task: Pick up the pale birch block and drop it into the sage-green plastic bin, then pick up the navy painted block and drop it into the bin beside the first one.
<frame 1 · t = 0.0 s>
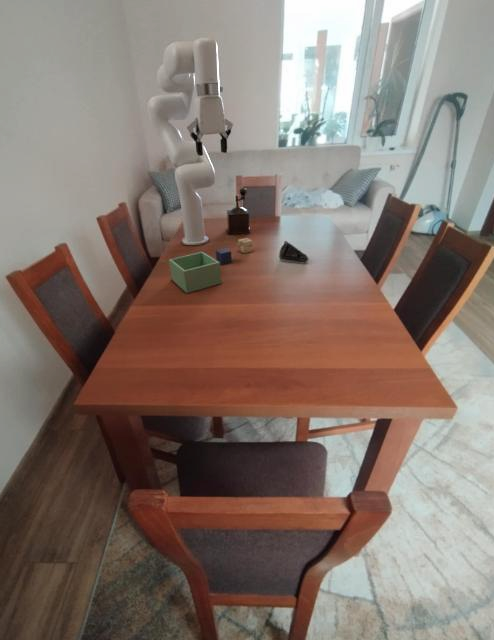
hand: (212, 153, 118), 37 cm above the table, tool pointing down, fingers open, 9 cm apart
birch block: (245, 250, 144), on the table
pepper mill: (238, 230, 169), on the table
navy block: (224, 262, 135), on the table
chocolate cake: (295, 259, 134), on the table
bin: (196, 281, 121), on the table
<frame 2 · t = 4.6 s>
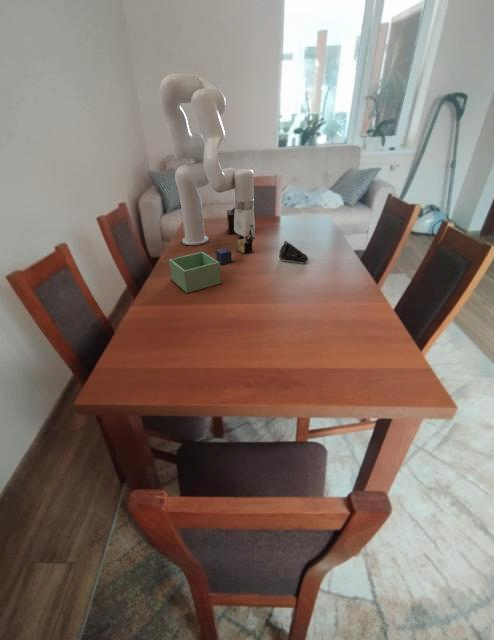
hand: (245, 250, 144), 0 cm above the table, tool pointing down, fingers closed on birch block, 4 cm apart
birch block: (245, 250, 144), on the table, touching gripper
everything else where it was.
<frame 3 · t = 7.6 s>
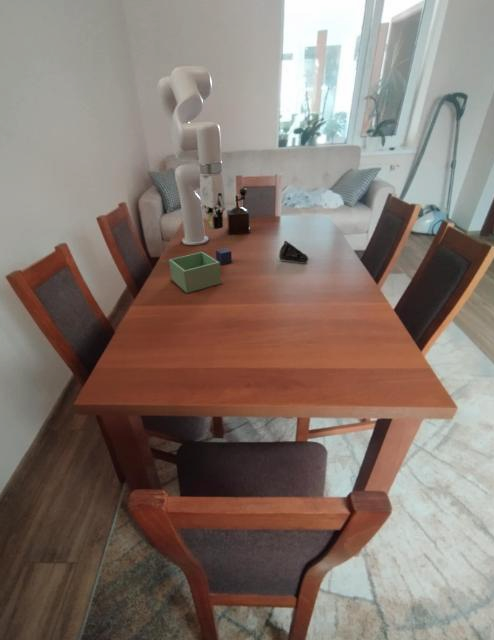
hand: (215, 226, 121), 16 cm above the table, tool pointing down, fingers closed on birch block, 4 cm apart
birch block: (215, 227, 121), point 15 cm above the table, touching gripper
everything else where it was.
when the fingers open (7 cm above the table, at t = 10.6 s): birch block drops 6 cm, resting on bin.
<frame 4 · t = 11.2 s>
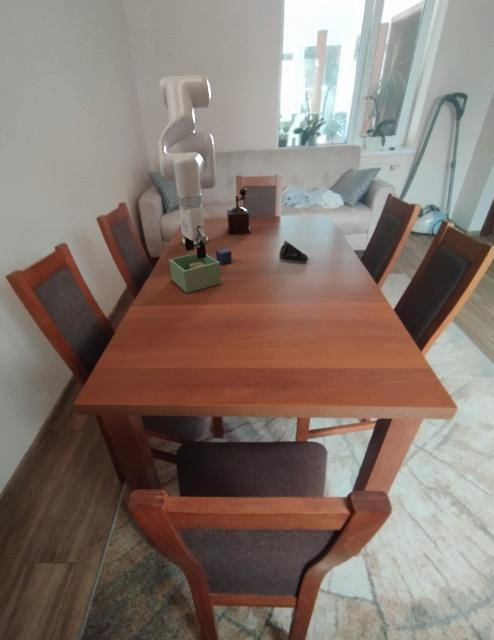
hand: (195, 253, 117), 9 cm above the table, tool pointing down, fingers open, 9 cm apart
birch block: (198, 276, 122), point 1 cm above the table, touching bin
everything else where it was.
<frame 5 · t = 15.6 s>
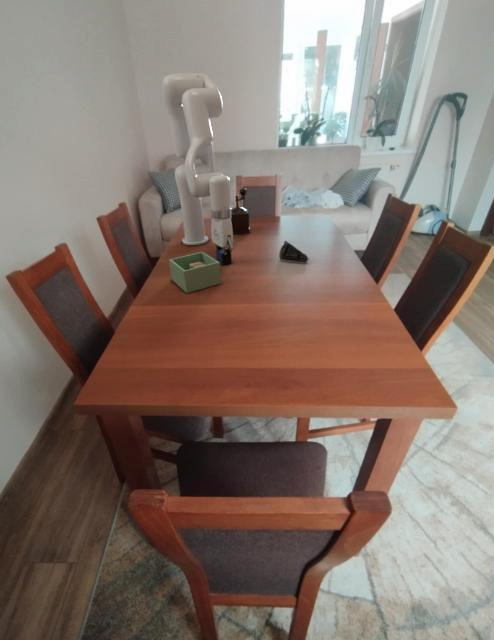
hand: (224, 261, 135), 0 cm above the table, tool pointing down, fingers closed on navy block, 4 cm apart
navy block: (224, 262, 135), on the table, touching gripper
everything else where it was.
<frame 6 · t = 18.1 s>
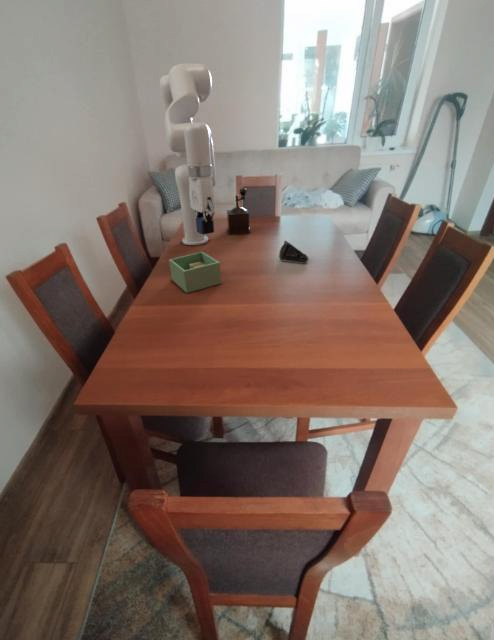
hand: (205, 230, 116), 16 cm above the table, tool pointing down, fingers closed on navy block, 4 cm apart
navy block: (205, 232, 116), point 15 cm above the table, touching gripper
everything else where it was.
when the fingers open (7 cm above the table, at t = 21.0 s): navy block drops 2 cm, resting on birch block.
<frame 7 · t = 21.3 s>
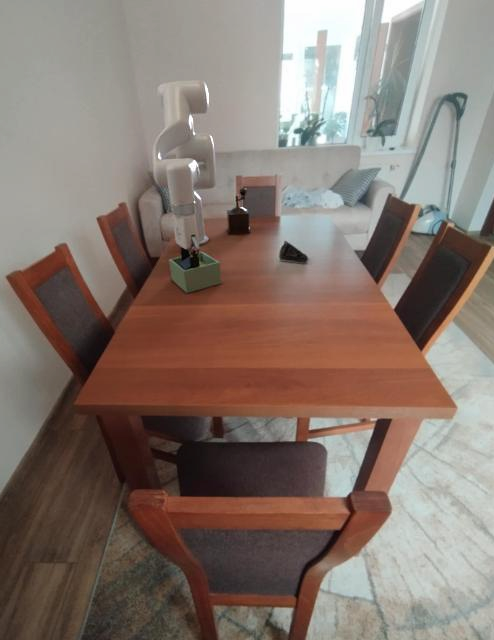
hand: (190, 264, 114), 8 cm above the table, tool pointing down, fingers open, 6 cm apart
birch block: (198, 276, 122), point 1 cm above the table, touching bin, navy block
navy block: (192, 272, 116), point 5 cm above the table, tilted 23°, touching birch block, gripper
everything else where it was.
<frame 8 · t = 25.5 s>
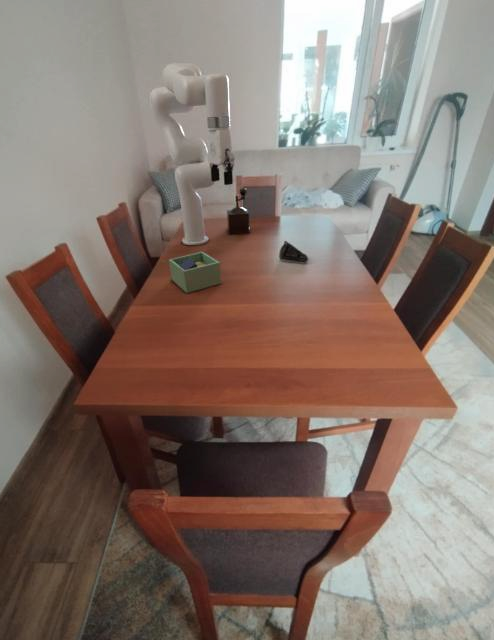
hand: (221, 182, 119), 28 cm above the table, tool pointing down, fingers open, 9 cm apart
navy block: (192, 273, 116), point 4 cm above the table, tilted 31°, touching bin, birch block
everything else where it was.
at the end: birch block inside the target area in the bin (2.9 cm from its centre), point 0.8 cm above the bin's base; navy block inside the target area in the bin (2.4 cm from its centre), point 4.3 cm above the bin's base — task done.
